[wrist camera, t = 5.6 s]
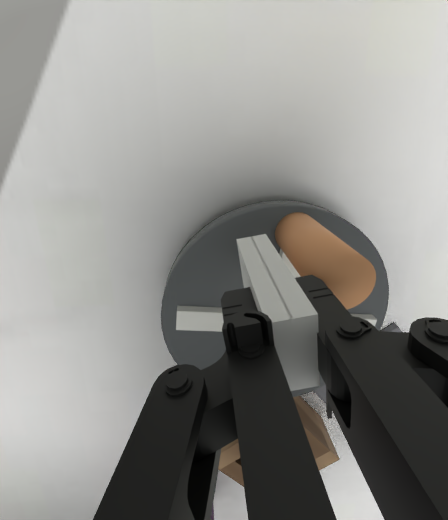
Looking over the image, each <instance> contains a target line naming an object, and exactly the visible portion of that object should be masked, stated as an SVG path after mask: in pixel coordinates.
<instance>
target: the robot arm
mask: <svg viewBox="0 0 448 520" xmlns="http://www.w3.org/2000/svg"><path fill="white" fill-rule="evenodd" d="M236 240H237V246H238V253H239V259H240V266H241V272H242V279H243V285H244V288H242V289H236V290H231V291H225V292H224V294H223V296H222V298H221V306H222V314H223V321H224V323H223V327H222V333H223V337H224V342H225V347H226V350H225V353H224V354H223V356H222V357H221V358H220V359H219V360H218V361H217V362H216V363H214V364H212V365H210V366H209V367H206V368H204V369H202V370H200V369H199V368H197V367H195V366H194V365H188V364H182V365H176V366H174V367H171V368H169V369H167V370H166V371H164V372H163V373H162V374H161V375H160V376H159V377H158V378H157V380H156V381H155V383H154V384H153V387H152V389H151V391H150V393H149V396H148V398H147V400H146V402H145V404H144V407H143V409H142V411H141V413H140V416H139V418H138V420H137V422H136V425H135V427H134V429H133V431H132V434H131V436H130V438H129V440H128V442H127V445H126V447H125V449H124V451H123V454H122V456H121V458H120V460H119V463H118V465H117V467H116V469H115V472H114V474H113V476H112V478H111V480H110V483H109V485H108V487H107V489H106V492H105V494H104V496H103V498H102V501H101V503H100V505H99V507H98V510H97V512H96V514H95V516H94V518H93V520H210V518H211V512H212V505H213V499H214V493H215V486H216V480H217V474H218V467H219V461H220V455H221V448H223V447H224V446H226V445H228V444H229V443H231V442H233V441H235V440H236V439H238V443H239V451H240V458H241V466H242V474H243V481H244V489H245V497H246V504H247V512H248V520H336V517H335V514H334V511H333V508H332V506H331V503H330V500H329V497H328V494H327V492H326V489H325V486H324V483H323V480H322V478H321V475H320V472H319V469H318V466H317V463H316V461H315V458H314V455H313V452H312V449H311V447H310V444H309V441H308V438H307V435H306V433H305V430H304V427H303V424H302V421H301V418H300V416H299V413H298V410H297V407H296V404H295V402H294V399H293V396H292V393H291V391H294V390H300V389H305V388H311V387H316V386H320V375H321V377H322V379H323V381H324V382H325V384H326V412H327V416H328V419H329V418H332V411H333V413H334V415H335V417H336V419H337V421H338V423H339V425H340V428H341V430H342V432H343V434H344V436H345V438H346V440H347V442H348V444H349V446H350V448H351V451H352V453H353V455H354V457H355V459H356V461H357V463H358V465H359V467H360V469H361V471H362V473H363V476H364V478H365V480H366V482H367V484H368V486H369V488H370V490H371V492H372V494H373V496H374V499H375V501H376V503H377V505H378V507H379V509H380V511H381V513H382V515H383V517H384V519H385V520H448V320H444V319H440V318H422V319H418V320H416V321H414V322H413V323H412V324H411V327H410V331H409V333H406V332H385V331H378V330H377V329H376V327H375V326H374V325H372V324H371V323H370V322H368V321H367V320H364V319H362V318H359V317H354V316H352V315H351V314H350V313H349V312H348V310H347V309H346V308H345V307H344V306H343V304H342V303H341V302H340V301H339V300H338V298H337V297H336V296H335V295H334V294H333V292H332V291H331V290H330V289H329V288H328V286H327V285H326V284H325V283H324V281H323V280H321V279H319V278H317V277H315V276H314V275H307V276H302V277H296V278H294V276H293V275H292V273H291V272H290V270H289V269H288V267H287V266H286V264H285V263H284V261H283V260H282V258H281V257H280V255H279V253H278V252H277V250H276V249H275V247H274V246H273V244H272V243H271V241H270V240H269V238H268V237H267V235H266V234H262V235H257V236H251V237H246V238H240V239H236Z"/></svg>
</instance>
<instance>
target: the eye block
mask: <svg viewBox="0 0 448 520" xmlns="http://www.w3.org/2000/svg"><path fill="white" fill-rule="evenodd" d="M293 399H294V402H295V404H296V407H297V410H298V413H299V416H300V418H301V421H302V424H303V427H304V430H305V433H306V435H307V438H308V441H309V444H310V447H311V449H312V452H313V455H314V458H315V461H316V463H317V466H318V469H319V470H321V469H323V468H325V467H327V466H328V465H330V464H332V463H334V462H336V461H338V460H339V457H338V455H337V452H336V450H335V448H334V445H333V443H332V441H331V438H330V436H329V434H328V431H327V429H326V427H325V425H324V422H323V420H322V418H321V416H320V415H319V414H318V413H317V412H316V411H315V410H314V409H312V408H311V407H310V406H309V405H308V404H307V403H306V402H305V401H304V400H303V399H302V398H301V397H300V396H296V397H293ZM218 470H220V471H221V472H223V473H224V474H226V475H227V476H229V477H230V478H232V479H233V480H235V481H236V482H237V483H239V484H240V485H242V486H243V487H244V481H243V474H242V466H241V458H240V451H239V443H238V439H236V440H235V441H233V442H231V443H229V444H228V445H226V446H224V447H223V448H221V455H220V461H219V467H218Z"/></svg>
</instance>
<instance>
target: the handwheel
mask: <svg viewBox="0 0 448 520" xmlns="http://www.w3.org/2000/svg"><path fill="white" fill-rule="evenodd" d="M262 234H266V235H267V237H268V238H269V240H270V241H271V243H272V244H273V246H274V247H275V249H276V250H277V252H278V253H279V255H280V257H281V258H282V260H283V261H284V263H285V264H286V266H287V267H288V269H289V270H290V272H291V273H292V275H293V276H294V278H296V277H302V276H307V275H314V276H315V277H317V278H319V279H321V280H323V281H324V283H325V284H326V285H327V286H328V288H329V289H330V290H331V291H332V292H333V294H334V295H335V296H336V297H337V298H338V300H339V301H340V302H341V303H342V304H343V306H344V307H345V308H346V309H347V310H348V312H349V313H350V314H351V315H352V316H354V317H359V318H362V319H364V320H367V321H368V322H370V323H371V324H372V325H374V326H375V327H376V329H377V330H378V331H379V330H380V328H381V326H382V324H383V321H384V318H385V314H386V311H387V305H388V296H389V285H388V278H387V273H386V270H385V266H384V263H383V261H382V259H381V257H380V255H379V253H378V251H377V249H376V248H375V247H374V245H373V244H372V243H371V241H370V240H369V239H368V238H367V237H366V236H365V235H364V234H363V233H362V232H361V231H360V230H359V229H358V228H356V227H355V226H353V225H352V224H350V223H349V222H347V221H346V220H344V219H343V218H341V217H339V216H337V215H336V214H334V213H332V212H330V211H328V210H326V209H324V208H321V207H318V206H315V205H312V204H309V203H303V202H297V201H284V200H275V201H266V202H259V203H255V204H250V205H246V206H243V207H240V208H238V209H235V210H232V211H230V212H228V213H226V214H224V215H222V216H220V217H219V218H217V219H215V220H213V221H212V222H211V223H209V224H208V225H206V226H205V227H204V228H202V229H201V230H200V231H199V232H198V233H197V234H196V235H195V236H194V237H193V238H191V239H190V241H189V242H188V243H187V244H186V246H185V247H184V248H183V249H182V250H181V252H180V254H179V255H178V257H177V259H176V260H175V262H174V264H173V266H172V268H171V271H170V273H169V275H168V279H167V283H166V287H165V291H164V296H163V300H162V310H161V323H162V331H163V335H164V340H165V342H166V345H167V347H168V350H169V352H170V354H171V355H172V357H173V359H174V360H175V362H176V363H177V364H178V365H182V364H188V365H194V366H195V367H197V368H199V369H200V370H202V369H204V368H206V367H209V366H210V365H212V364H214V363H216V362H217V361H218V360H219V359H220V358H221V357H222V356H223V354H224V353H225V350H226V347H225V342H224V337H223V333H222V327H223V323H224V321H223V314H222V306H221V298H222V296H223V294H224V292H225V291H231V290H236V289H242V288H244V285H243V279H242V272H241V266H240V259H239V253H238V246H237V240H236V239H240V238H246V237H251V236H257V235H262ZM324 385H326V384H325V382H324V381H323V379H322V377H321V375H320V386H316V387H311V388H305V389H300V390H294V391H291V393H292V396H293V397H296V396H300V395H303V394H306V393H309V392H311V391H314V390H316V389H318V388H320V387H323V386H324Z"/></svg>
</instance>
